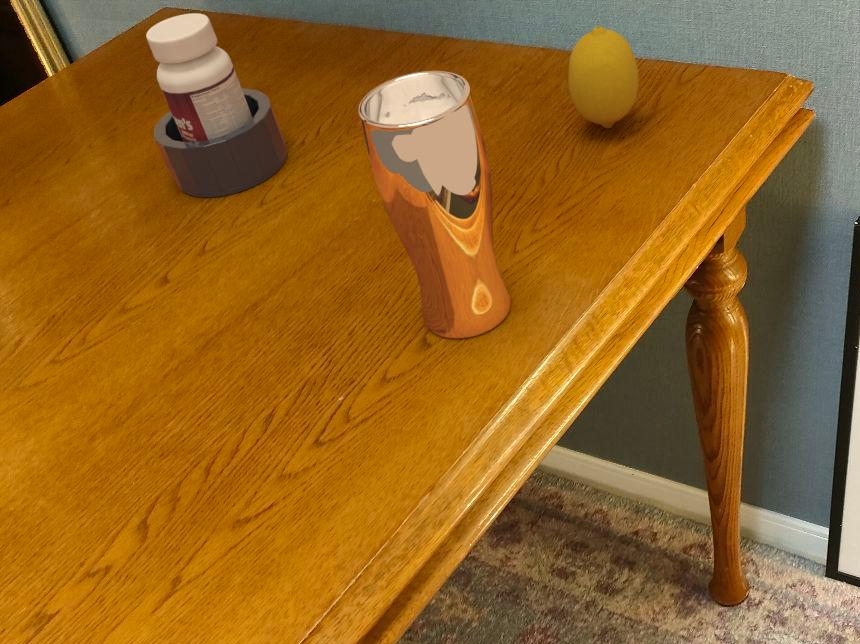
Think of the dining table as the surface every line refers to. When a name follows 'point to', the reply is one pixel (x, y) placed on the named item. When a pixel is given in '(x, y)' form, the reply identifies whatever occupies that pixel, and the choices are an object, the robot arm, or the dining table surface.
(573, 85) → the lemon
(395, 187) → the beer glass
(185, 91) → the pill bottle
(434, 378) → the dining table surface
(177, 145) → the holder
